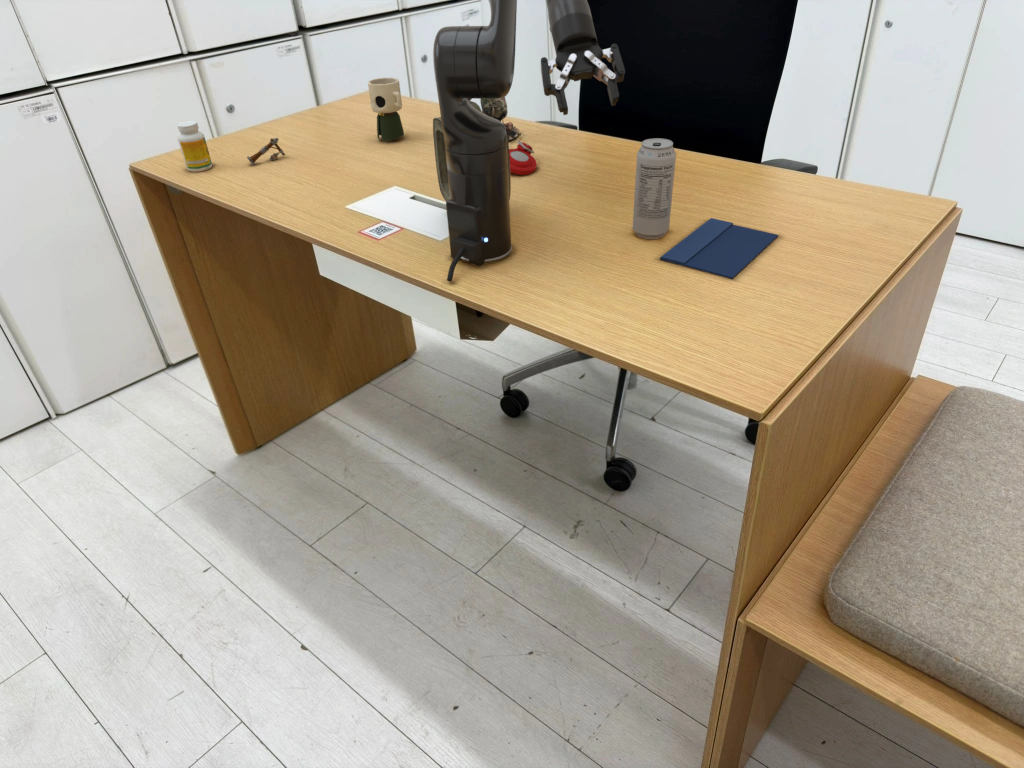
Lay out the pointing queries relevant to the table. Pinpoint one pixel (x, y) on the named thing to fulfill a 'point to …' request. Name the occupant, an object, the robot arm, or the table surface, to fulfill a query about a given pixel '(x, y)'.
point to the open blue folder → (719, 248)
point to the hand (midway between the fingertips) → (590, 107)
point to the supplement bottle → (193, 147)
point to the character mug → (386, 107)
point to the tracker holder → (522, 159)
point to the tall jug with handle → (441, 155)
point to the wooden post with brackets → (264, 150)
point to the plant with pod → (499, 114)
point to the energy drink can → (653, 188)
